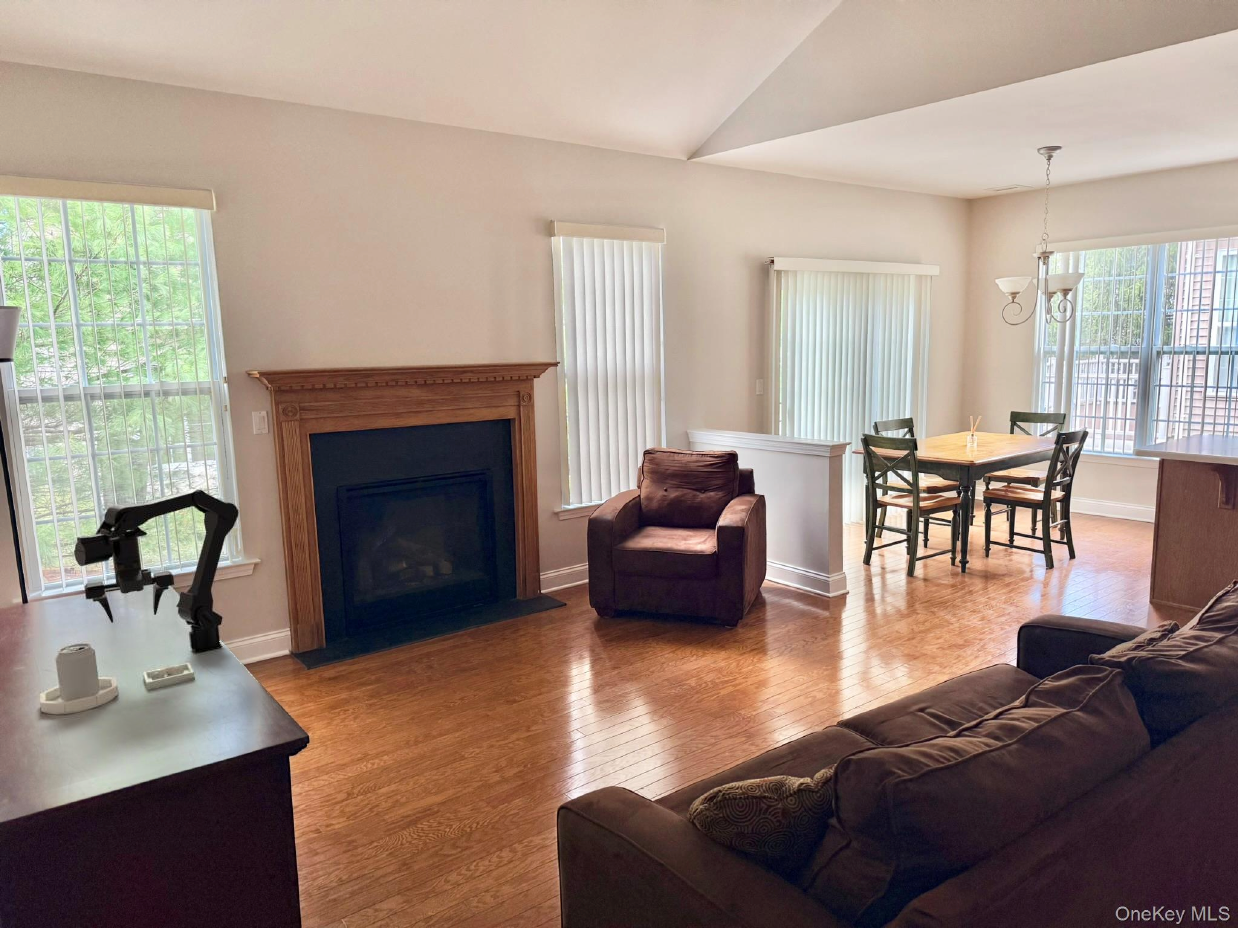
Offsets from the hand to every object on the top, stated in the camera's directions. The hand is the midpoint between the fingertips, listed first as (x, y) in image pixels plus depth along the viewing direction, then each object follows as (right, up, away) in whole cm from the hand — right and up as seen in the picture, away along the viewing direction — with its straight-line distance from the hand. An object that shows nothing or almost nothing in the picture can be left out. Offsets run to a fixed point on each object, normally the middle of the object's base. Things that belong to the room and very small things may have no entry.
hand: (133, 618), depth 207 cm
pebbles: (+12, -14, -6) cm, 19 cm away
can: (-2, -15, -17) cm, 23 cm away
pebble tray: (+12, -14, -6) cm, 19 cm away
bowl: (-2, -16, -17) cm, 23 cm away
